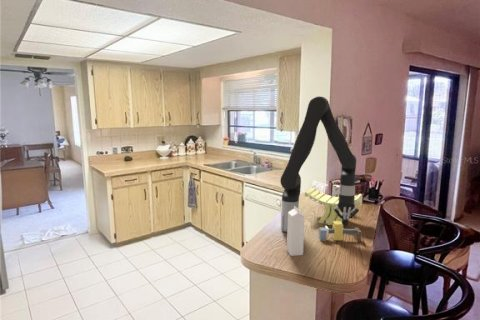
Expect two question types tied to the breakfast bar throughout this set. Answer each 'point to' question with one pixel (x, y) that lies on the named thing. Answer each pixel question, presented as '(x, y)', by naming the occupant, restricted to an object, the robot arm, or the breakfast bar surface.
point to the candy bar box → (335, 190)
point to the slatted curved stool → (329, 205)
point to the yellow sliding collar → (337, 230)
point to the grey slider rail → (346, 231)
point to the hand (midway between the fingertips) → (344, 225)
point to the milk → (295, 232)
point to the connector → (322, 234)
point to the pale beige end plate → (327, 230)
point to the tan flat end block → (358, 235)
